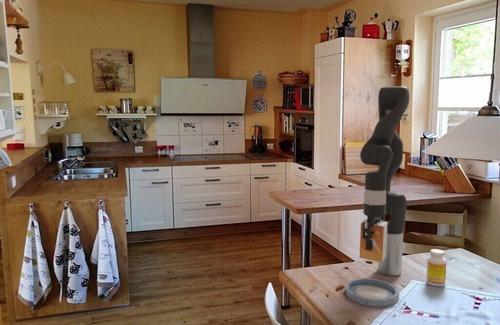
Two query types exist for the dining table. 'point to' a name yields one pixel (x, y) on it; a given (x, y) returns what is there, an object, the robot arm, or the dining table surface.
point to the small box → (375, 243)
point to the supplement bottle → (436, 268)
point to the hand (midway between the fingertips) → (373, 247)
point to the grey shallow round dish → (372, 292)
